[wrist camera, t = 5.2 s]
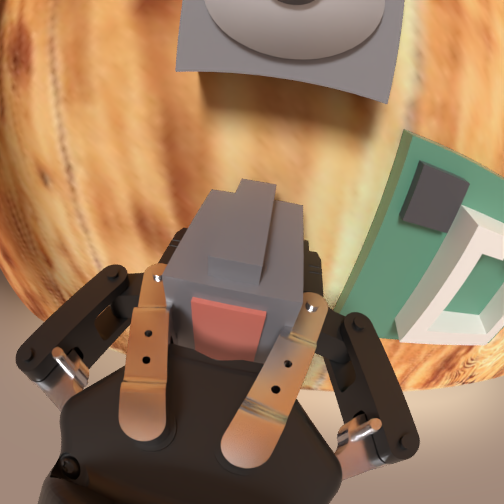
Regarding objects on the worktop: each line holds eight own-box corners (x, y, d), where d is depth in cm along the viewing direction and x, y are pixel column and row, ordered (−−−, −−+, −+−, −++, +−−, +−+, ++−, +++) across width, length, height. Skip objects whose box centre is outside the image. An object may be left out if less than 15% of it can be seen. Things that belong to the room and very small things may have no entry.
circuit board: (328, 319, 19) (329, 355, 17) (403, 129, 10) (431, 149, 8) (484, 333, 18) (493, 359, 16) (561, 220, 9) (581, 244, 7)
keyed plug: (209, 265, 16) (175, 356, 11) (212, 174, 12) (156, 259, 7) (282, 279, 16) (272, 376, 11) (306, 190, 12) (310, 289, 7)
